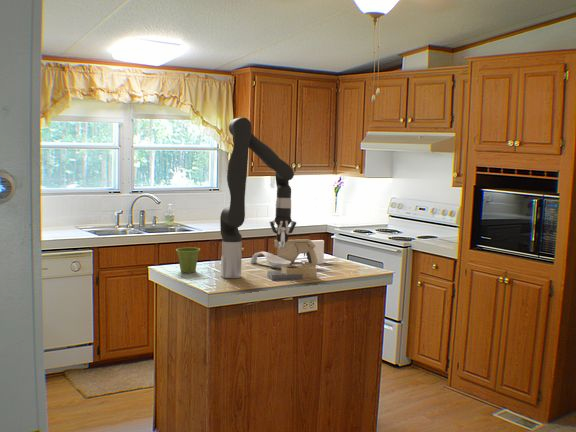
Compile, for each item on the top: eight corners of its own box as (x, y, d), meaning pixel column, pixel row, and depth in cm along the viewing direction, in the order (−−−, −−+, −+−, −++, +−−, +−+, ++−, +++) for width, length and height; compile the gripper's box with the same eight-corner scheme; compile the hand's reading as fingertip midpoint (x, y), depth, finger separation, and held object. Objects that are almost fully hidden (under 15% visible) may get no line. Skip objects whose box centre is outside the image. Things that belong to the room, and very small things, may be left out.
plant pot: (190, 268, 303) (190, 246, 302) (204, 272, 294) (204, 249, 293) (170, 271, 295) (170, 248, 293) (184, 275, 286) (184, 252, 285)
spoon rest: (295, 267, 312) (295, 254, 311) (282, 271, 302) (282, 257, 302) (259, 262, 325) (259, 249, 324) (245, 265, 316) (245, 251, 315)
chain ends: (271, 280, 279) (272, 269, 279) (267, 276, 288) (267, 266, 287) (316, 278, 285) (316, 268, 285) (310, 274, 294) (310, 264, 293)
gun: (318, 268, 311) (316, 239, 310) (315, 269, 308) (313, 240, 307) (278, 266, 323) (276, 239, 322) (275, 267, 320) (273, 240, 319)
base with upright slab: (319, 260, 333) (320, 239, 332) (326, 263, 325) (326, 241, 324) (304, 261, 330) (305, 239, 329) (311, 264, 322) (311, 242, 320)
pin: (279, 248, 292) (279, 228, 291) (277, 247, 296) (277, 227, 295) (286, 248, 294) (287, 228, 293) (284, 247, 297) (285, 227, 296)
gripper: (271, 207, 287) (270, 242, 289) (299, 207, 291) (298, 242, 293) (267, 205, 294) (266, 240, 296) (295, 206, 298) (293, 240, 300)
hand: (282, 241), depth 294 cm, fingers closed on pin, 3 cm apart
